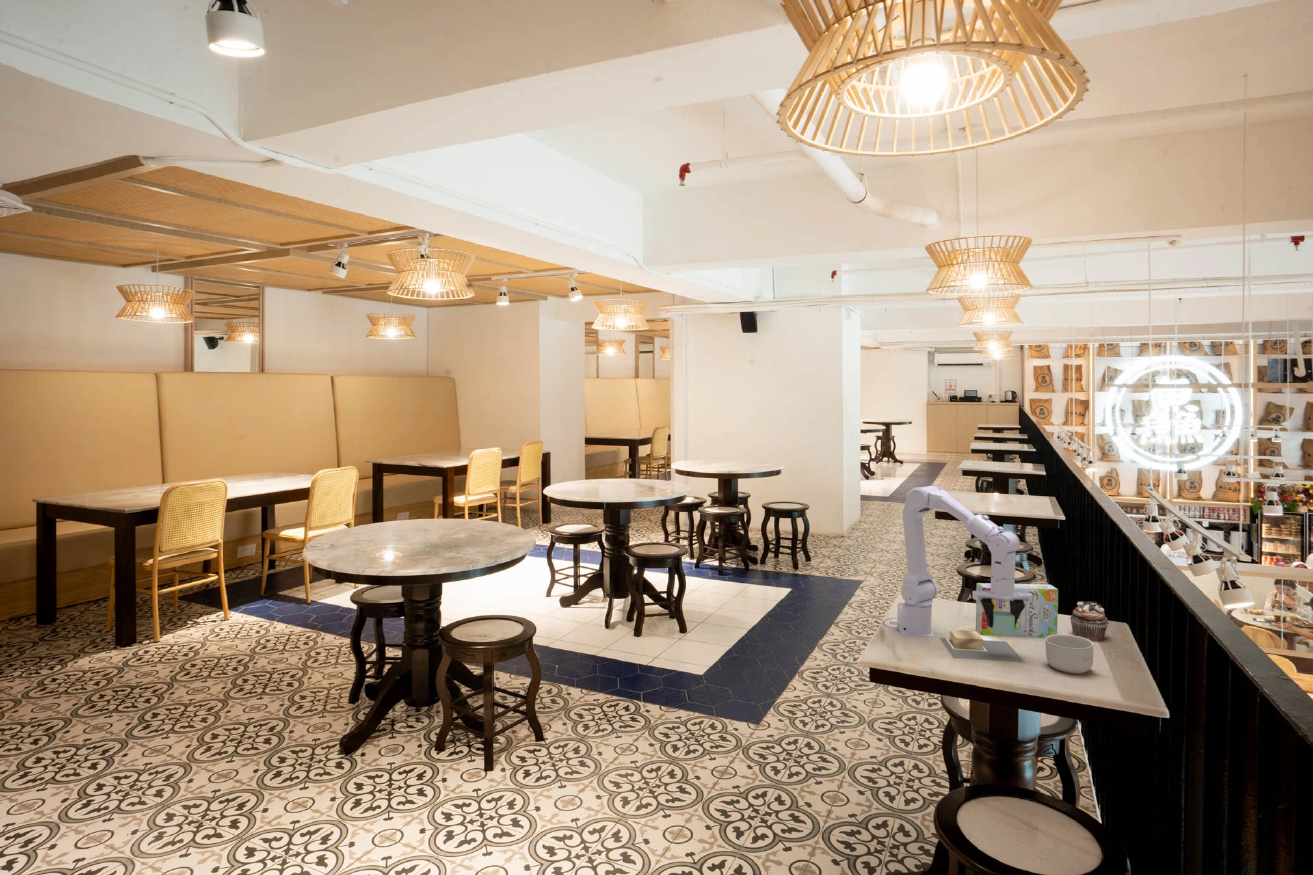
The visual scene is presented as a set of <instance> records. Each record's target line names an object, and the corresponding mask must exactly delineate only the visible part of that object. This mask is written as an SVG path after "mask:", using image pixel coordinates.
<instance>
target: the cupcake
mask: <svg viewBox="0 0 1313 875" xmlns="http://www.w3.org/2000/svg"><path fill="white" fill-rule="evenodd" d="M1076 604H1077V606H1076V607H1075V608H1074V609H1073V610H1072V614H1071V615H1070V617H1069V619H1070V624H1071V629H1072V635H1074V636H1079V637H1083V638H1086V639H1089V640H1090V641H1092V642H1097V641H1099V642H1101V641H1104V640H1105V636H1106V631H1107V628H1108V626H1109V619H1108V618H1107V617H1106V615H1105V614H1106V613H1105V609H1104V608H1103V607H1102V605H1101V604H1098V603H1097V601H1083V600H1080V601H1077V603H1076Z"/></svg>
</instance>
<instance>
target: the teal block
mask: <svg viewBox="0 0 1313 875" xmlns="http://www.w3.org/2000/svg"><path fill="white" fill-rule="evenodd" d="M1014 624H1015V616H1014V615H1012V614H1011V613H1010V612H1009V611H1000V610H993V627H988V628H989V629H990V630H991V631H992V632H993V633H994V634H1003V635H1014Z"/></svg>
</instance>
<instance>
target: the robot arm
mask: <svg viewBox="0 0 1313 875" xmlns="http://www.w3.org/2000/svg"><path fill="white" fill-rule="evenodd" d="M933 509H935V510H936V509H937V510H943V511H945V512H947V513H948V514H950V515H951V516H953V517H954V518H956V519H957V520H958V521H960V522H961V523H963V524H965V525H966V529H967V531H968V532H969V533H970V534H972V535H973V536H975V537H976V538H977V539H979V540H980V541H981V542H983V544H986V545H987V548H988V550H989V552H990V554H991V558H990V559H991V567H990V568H991V570H990V571H991V572H990V583H991V590H988V591H976V590H973V591H972V599H973V600H975V601H976V600H978V599H980V602H981V604H982V606H983V608H984V611H985V614H986V618H987V623H988V626H989V627H993V610H994V604H993V601H992V600H1004V601H1009V602H1010V613H1011V614H1012V615H1014V616H1015V624H1014V629H1015V626H1016V623H1017V620H1018V617H1019V615H1020V614H1021V612H1022V610H1023V609H1024V608H1025V604H1024V601H1025V602H1031V603H1032V597H1033V596H1032V595H1031V594H1029V593H1019V592H1014V584H1016V583H1015V581H1016V580H1015V579H1016V552H1017V551H1018V549H1019V548H1020V544H1021V541H1020V538H1019V537H1018V535H1017V534H1016V533H1015V532H1014V531H1012V530H1004V527H1003V526H998V525H997V524H996V523H994V522H993V521H992V520H990V517H989V516H988V515H986V514H984V515H983V514H980V513H978V514H974V513H973V512H971V511H970V510H969V509H968V508H966V507H965V506H964V505H963V504H961V503H960V502H959V501H958V500H956V499H955V498H953V497H952V496H951V495H950V494H949V493H948V491H946V490H945V489H942V488H941V487H940V486H938V485H934V484H932V485H928V486H921V487H918V486H917V487H916V486H915V487H913V488H911V489H910V490H909V491H908V492H907V493H906V494H905V503H904V506H903V509H902V522H903V532H904V533H903V534H904V546H905V554H906V564H907V565H906V566H907V572H906V574H905V575H904V576H903V578H902V587H901V589H900V592H901V597H902V600H904V602H899V603H898V604H897V614H896V615H897V621H896V628H897V630H898V632H899V634H900V635H903V636H918V637H919V636H920V637H921V636H922V637H935V634H934V633H933V631H932V615H933V614H932V613H933V612H932V611H933V609H932V607H933V600H934V599H935V598H936V597H937V594H938V588H937V586H936V584H935V581H934V576H933V575H932V574H931V573H930V572H929V571H928V565H927V564H928V563H927V562H928V561H927V553H926V543H925V542H926V540H925V534H924V521H923V518H924V517H925V516H926V514H928V513H929V512H930V511H931V510H933Z"/></svg>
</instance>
